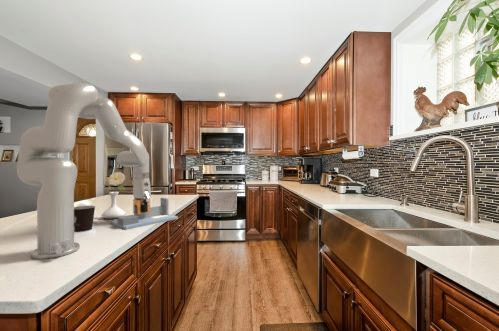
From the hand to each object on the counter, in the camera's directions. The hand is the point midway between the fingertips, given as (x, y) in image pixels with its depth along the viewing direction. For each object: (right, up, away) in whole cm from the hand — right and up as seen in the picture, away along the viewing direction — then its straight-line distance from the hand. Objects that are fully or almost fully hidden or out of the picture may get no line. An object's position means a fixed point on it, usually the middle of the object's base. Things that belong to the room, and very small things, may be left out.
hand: (141, 211), depth 121 cm
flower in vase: (-17, -5, +7) cm, 20 cm away
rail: (+3, -5, 0) cm, 6 cm away
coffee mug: (-19, -5, -15) cm, 25 cm away
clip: (0, -1, 0) cm, 1 cm away
